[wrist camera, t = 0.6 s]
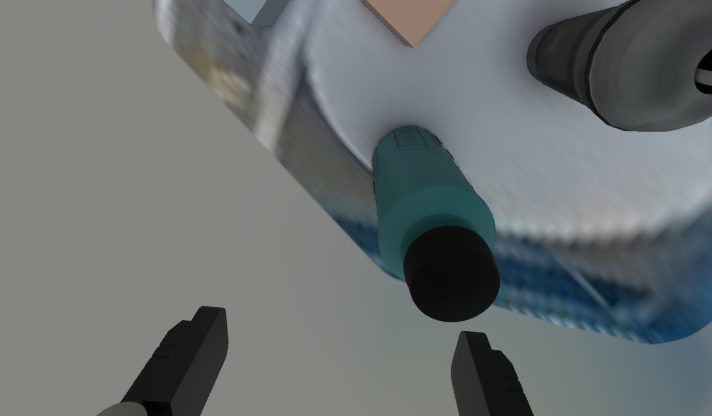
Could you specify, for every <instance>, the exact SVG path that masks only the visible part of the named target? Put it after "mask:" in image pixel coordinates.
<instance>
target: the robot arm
mask: <svg viewBox="0 0 712 416" xmlns="http://www.w3.org/2000/svg"><path fill="white" fill-rule="evenodd" d="M227 350H228V331H227V319H226V310H225V308H220V307H209V306H201V307H200V308H199V309H198V311H197V312H196V314H195V316H194V317H193V319H192V320H191V321H185V320H182V321H181V322H179V323H178V324H177V325H176V326H174V327H173V328H172V329H170V330H169V331H168V332H167V334H166V336H165V337H164V338H163V340H162V342H161V343H160V346H159V347H157V349H156V350H155V352H154V353H153V355H152V358H150V359H149V361H148V362H147V364H146V365H145V367H144V368H143V370H142V371H141V373H140V374H139V376H138V377H137V379H136V380H135V381H134V383H133V385H132V386H131V387H130V389H129V390H128V392H127V393H126V395H125V396H124V398H123V399H122V400H121V402H120V403H118V404H115V405H112V406H111V407H108V408H107V409H105V410H103V411H102V412H101V413H99V414H98V415H97V416H200V415H201V412H202V410H203V408H204V406H205V403H206V401H207V399H208V397H209V394H210V392H211V390H212V388H213V386H214V383H215V381H216V379H217V377H218V374H219V372H220V370H221V368H222V365H223V363H224V361H225V358H226V355H227ZM451 379H452V385H453V389H454V394H455V398H456V402H457V407H458V411H459V416H534V415H533V413H532V410H531V408H530V405H529V403H528V401H527V398H526V396H525V394H524V393H523V389H522V386H521V384H520V382H519V381H518V377H517V374H516V372H515V369H514V367H513V365H512V363H511V362H510V361H509V360H508V358H507V357H506V356H505V355H504V354H503V353H502V352H501V351H500V350H492V349H491V346H490V344H489V341H488V338H487V336H486V334H485V333H481V332H480V333H479V332H470V331H461V333H460V335H459V339H458V342H457V346H456V349H455V353H454V357H453V361H452V366H451Z"/></svg>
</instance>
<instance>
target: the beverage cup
mask: <svg viewBox="0 0 712 416" xmlns="http://www.w3.org/2000/svg"><path fill="white" fill-rule="evenodd" d="M527 66H528V69H529V71H530V73H531V75H532V76H534V77H535V78H536V79H537V80H539V81H541V82H542V83H543V84H544V85H546V86H548V87H550V88H552V89H554V90H556V91H558V92H560V93H562V94H564V95H566V96H568V97H570V98H572V99H574V100H576V101H577V102H579V103H581V104H583V105H585V106H587V107H588V108H589V109H590V110H592V111H593V113H594V114H595V115H596V116H597V117H599V118H600V119H601V120H602V121H603V122H604V123H605V124H606V125H609V126H612V127H614V128H617V129H620V130H623V131H638V132H667V131H672V130H677V129H680V128H684V127H687V126H691V125H694V124H697V123H699V122H702V121H704V120H706V119H708V118H709V117H711V116H712V0H629V1H626V2H624V3H622V4H620V5H619V6H615V7H611V8H608V9H604V10H600V11H596V12H593V13H589V14H585V15H581V16H577V17H574V18H570V19H566V20H563V21H560V22H558V23H555V24H552V25H549V26H547V27H546V28H544V29H543V30H541V31H540V32H539V33H538V34H537V35H536V36H535V38H534V39H533V40H532V42H531V44H530V46H529V48H528V53H527Z"/></svg>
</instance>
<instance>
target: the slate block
mask: <svg viewBox="0 0 712 416" xmlns="http://www.w3.org/2000/svg"><path fill="white" fill-rule="evenodd" d="M224 1H225V2H226V3H227V4H228V5H229V6H230V7H232V8H233V9H234V10H235V11H236V12H237V13H238V14H239V15H241V16H242V17H243V18H244V19H245V20H246V21H247V22H249V23H250V24H252V25H262V26H272V25H273V24H274V22H275V21H276V19H277V18H278V16H279V15H280V14H281V12H282V11H283V9H284V8H285V6H286V5H287V3H288V2H289V1H290V0H224Z"/></svg>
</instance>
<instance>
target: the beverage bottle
mask: <svg viewBox="0 0 712 416" xmlns="http://www.w3.org/2000/svg"><path fill="white" fill-rule="evenodd" d="M415 127H416V128H415ZM415 127H406V126H405V128H401V127H400V128H401V129H398V128H397V130H395V129H394V130H395V131H394V130H393V132H391V133H389V134H388V135H387V136H385V137H384V138H383V139H382V140H381V142H380V143H379V144H378V146H377V148H376V147H375V149H376V150H375V153H374V156H373V160H371V161H372V162H373V165H371V166H373V167H372V168H373V171H372V172H373V173H372V172H371V173H372V174H373V175H372V176H374V181H373V182H372V183H373V184H374V194H375V199H376V205H377V207H376V208H377V215H378V226H379V235H378V239H379V248H380V252H381V255H382V257H383V260H384V262H385V263H386V264H387V266H388V267H389V268H390V270H391V271H392V272H393V273H394V274H395V275H397V276H398V277H400V278H401V279H403V280H405V281H406V283H407V285H408V287H409V290H410V294H411V297H412V299H413V301H414V303H415V304H416V306H417V307H418V308H419V310H420V311H421V312H423V313H424V314H425V315H427V316H429V317H431V318H433V319H436V320H439V321H443V322H460V321H465V320H468V319H471V318H474V317H476V316H478V315H479V314H481V313H482V312H484V311H485V310H486V309H487V308H489V306H491V304H492V303H493V302H494V300H495V298H496V297H497V294H498V292H499V288H500V276H499V272H498V269H497V267H496V264H495V262H494V258H493V255H492V252H491V251H492V248H493V245H494V242H495V234H496V230H495V221H494V218H493V215H492V213H491V211H490V209H489V207H488V206H487V204H486V203H485V201H484V200H483V199H482V198H481V197H480V196H479V195H478V194H477V193H476V192H475V190H474V188H472V186H471V185H472V184H471V185H470V183H469V182H468V181H467V179H466V178H465V176H464V174H463V173H462V172H461V170H460V168H459V167H458V166H457V165H456V164H455V162H454V161H453V160H454V159H455V158H454V159H453V160H452V158H453V157H452V155H451V154H450V153H449V152H448V150H447V149H446V150H447V151H446V150H445V149H444V148H443V147H442V145H443V144H442V143H441V142H440V141H439V139H438V138H437V137H436V136H435V135H434V136H435V137H434V136H433V135H432V133H429V132H430V131H429V132H428V130H427V131H426V130H423V129H420V128H417V127H418V126H415ZM421 128H422V127H421ZM424 129H425V128H424ZM433 134H434V133H433ZM441 144H442V145H441ZM447 152H448V153H449V154H448V153H447ZM449 155H450V156H451V157H450V156H449ZM371 158H372V157H371ZM457 164H458V163H457ZM371 170H372V169H371ZM374 206H375V205H374Z"/></svg>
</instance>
